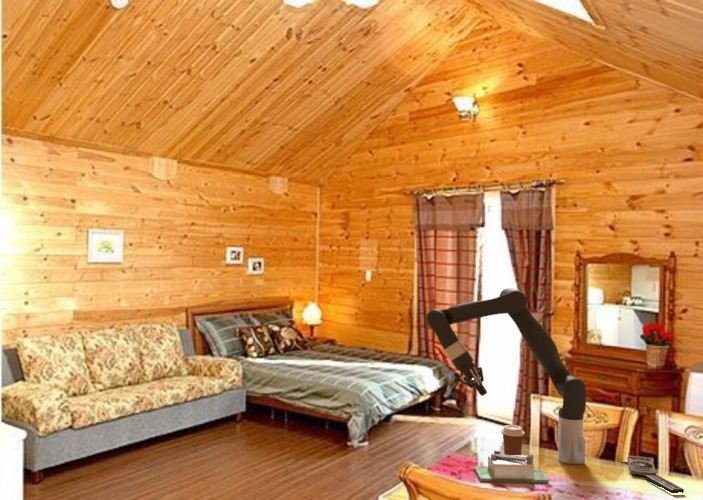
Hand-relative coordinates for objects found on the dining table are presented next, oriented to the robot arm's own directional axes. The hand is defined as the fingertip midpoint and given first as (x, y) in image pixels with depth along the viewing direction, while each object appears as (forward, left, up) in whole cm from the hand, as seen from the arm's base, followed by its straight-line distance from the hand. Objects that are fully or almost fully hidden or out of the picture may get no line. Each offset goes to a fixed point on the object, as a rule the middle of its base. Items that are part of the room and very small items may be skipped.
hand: (484, 394), depth 227 cm
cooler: (-8, +7, -28) cm, 30 cm away
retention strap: (-8, +7, -22) cm, 24 cm away
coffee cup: (-14, -14, -28) cm, 35 cm away
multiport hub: (-60, +14, -29) cm, 68 cm away
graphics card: (-59, -2, -29) cm, 65 cm away
